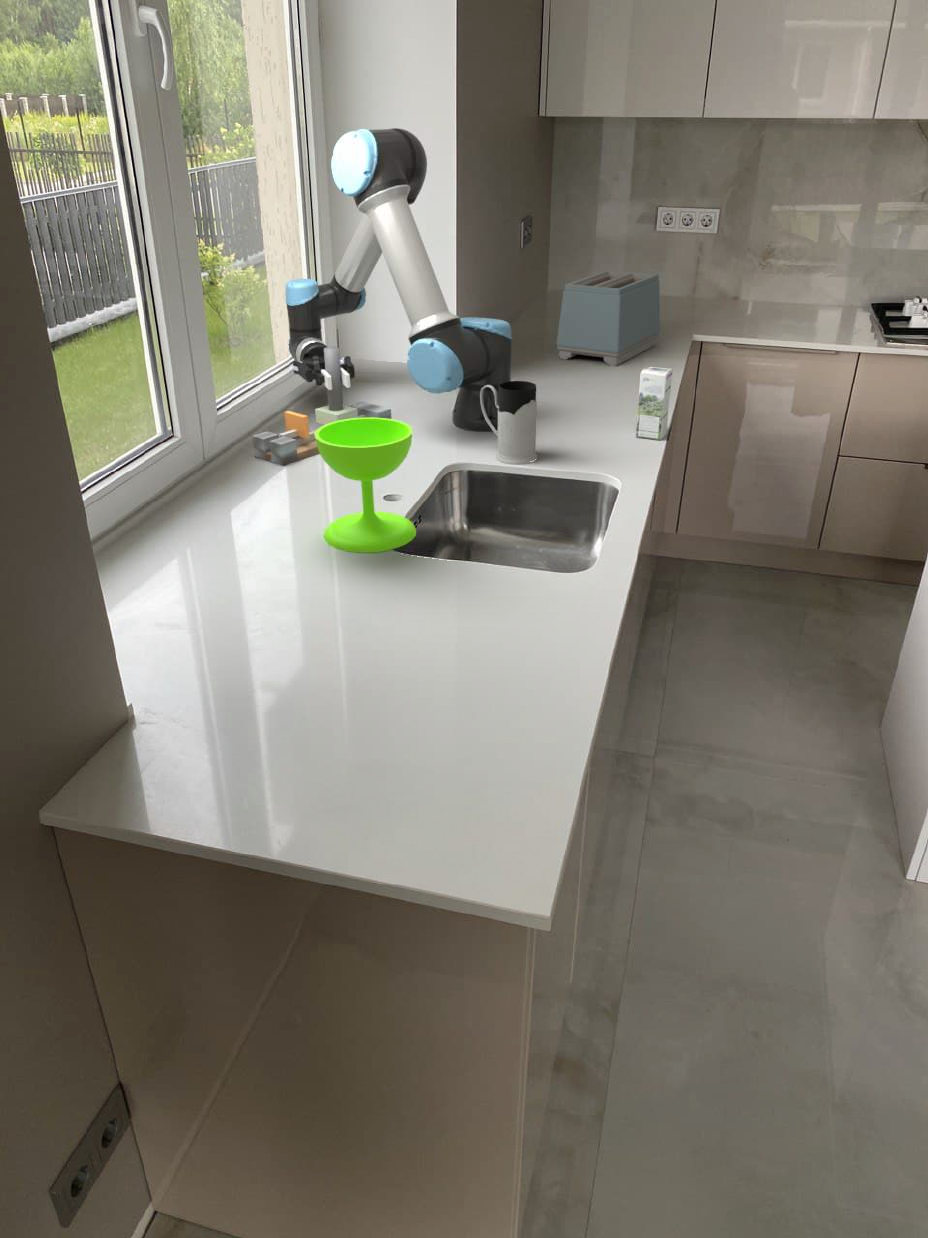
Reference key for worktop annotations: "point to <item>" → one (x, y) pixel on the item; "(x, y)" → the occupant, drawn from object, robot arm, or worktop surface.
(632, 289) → the toaster
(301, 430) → the orange block
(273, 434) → the rail base
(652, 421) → the syrup box
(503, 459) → the glass holder
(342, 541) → the wineglass
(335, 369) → the carriage
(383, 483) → the worktop surface
